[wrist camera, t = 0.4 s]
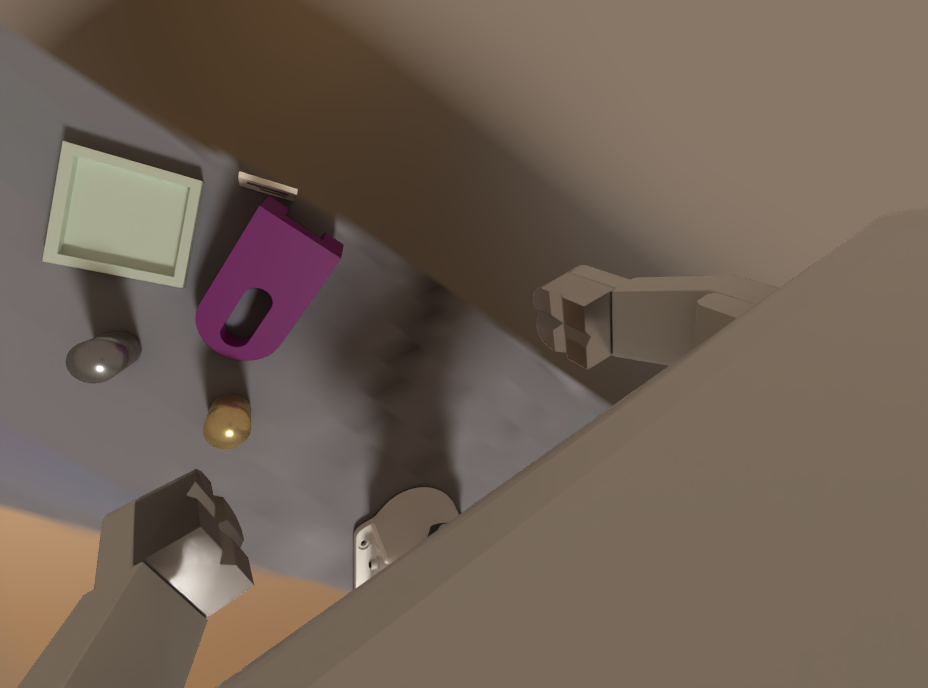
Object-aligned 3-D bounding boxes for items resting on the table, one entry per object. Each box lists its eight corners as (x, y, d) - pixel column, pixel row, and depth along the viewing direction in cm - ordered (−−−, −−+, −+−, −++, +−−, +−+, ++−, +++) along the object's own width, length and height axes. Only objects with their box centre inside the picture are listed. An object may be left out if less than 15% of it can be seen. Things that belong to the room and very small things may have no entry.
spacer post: (138, 368, 50) (116, 385, 42) (94, 363, 48) (62, 380, 40) (144, 334, 50) (123, 344, 42) (100, 327, 48) (69, 337, 40)
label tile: (293, 201, 55) (296, 194, 50) (239, 186, 52) (238, 177, 47) (294, 196, 55) (298, 188, 50) (240, 180, 52) (239, 170, 47)
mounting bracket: (273, 339, 61) (345, 236, 56) (260, 373, 54) (341, 258, 49) (204, 303, 57) (275, 189, 52) (180, 334, 50) (259, 205, 45)
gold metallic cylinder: (247, 431, 56) (246, 450, 50) (205, 428, 54) (199, 447, 47) (254, 395, 56) (254, 410, 49) (212, 391, 54) (207, 406, 47)
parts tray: (184, 287, 51) (182, 288, 49) (49, 261, 46) (42, 261, 44) (203, 184, 50) (202, 181, 49) (69, 145, 45) (62, 140, 43)
